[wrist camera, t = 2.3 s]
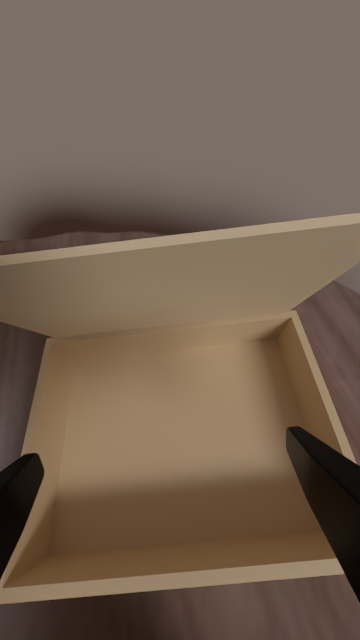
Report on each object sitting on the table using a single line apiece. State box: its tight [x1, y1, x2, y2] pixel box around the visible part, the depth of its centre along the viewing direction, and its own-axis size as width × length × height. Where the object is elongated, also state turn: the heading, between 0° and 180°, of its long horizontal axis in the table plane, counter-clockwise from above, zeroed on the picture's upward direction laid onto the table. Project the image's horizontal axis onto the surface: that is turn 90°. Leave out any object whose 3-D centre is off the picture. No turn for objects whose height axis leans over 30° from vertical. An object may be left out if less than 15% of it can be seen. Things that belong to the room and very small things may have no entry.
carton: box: [0, 311, 357, 604], centre depth 18 cm, size 16×22×5 cm
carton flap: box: [0, 213, 360, 338], centre depth 14 cm, size 12×20×1 cm
